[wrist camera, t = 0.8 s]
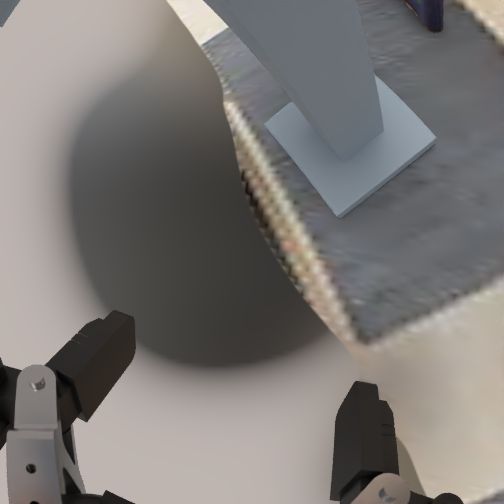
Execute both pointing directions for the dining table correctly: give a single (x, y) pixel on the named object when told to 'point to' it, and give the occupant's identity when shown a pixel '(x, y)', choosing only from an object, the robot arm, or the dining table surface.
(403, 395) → the dining table surface
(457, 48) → the dining table surface
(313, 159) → the shelf stand
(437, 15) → the flask
